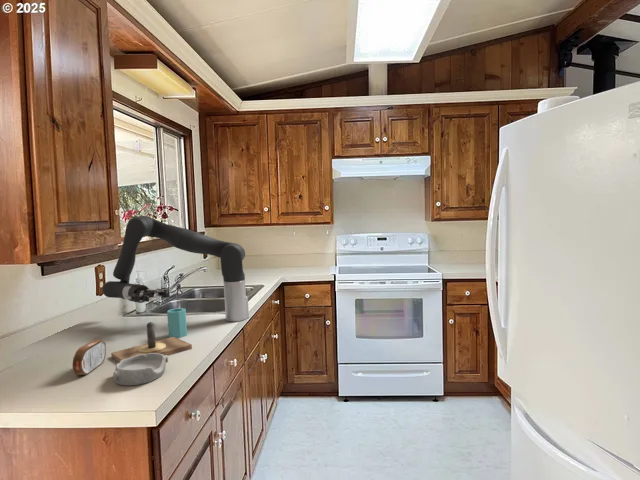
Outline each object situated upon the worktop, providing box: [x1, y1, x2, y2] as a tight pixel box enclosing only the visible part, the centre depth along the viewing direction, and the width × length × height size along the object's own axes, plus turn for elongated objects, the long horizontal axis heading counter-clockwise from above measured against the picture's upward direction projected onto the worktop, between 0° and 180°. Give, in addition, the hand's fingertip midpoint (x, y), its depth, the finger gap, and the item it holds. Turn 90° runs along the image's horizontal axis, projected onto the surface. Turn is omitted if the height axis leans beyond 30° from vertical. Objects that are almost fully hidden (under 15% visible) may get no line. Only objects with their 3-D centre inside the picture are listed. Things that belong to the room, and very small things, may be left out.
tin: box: [72, 339, 107, 376], centre depth 128 cm, size 15×3×8 cm, turn 1°
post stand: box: [110, 321, 193, 363], centre depth 141 cm, size 22×14×11 cm, turn 134°
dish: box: [112, 353, 169, 387], centre depth 121 cm, size 14×14×5 cm
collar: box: [166, 307, 188, 339], centre depth 160 cm, size 6×6×10 cm
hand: (158, 296), depth 166 cm, fingers open, 8 cm apart
